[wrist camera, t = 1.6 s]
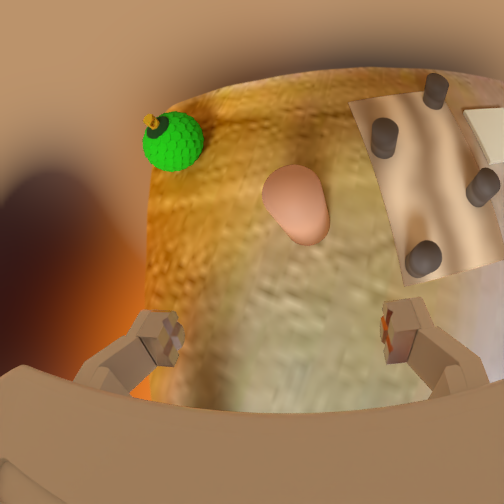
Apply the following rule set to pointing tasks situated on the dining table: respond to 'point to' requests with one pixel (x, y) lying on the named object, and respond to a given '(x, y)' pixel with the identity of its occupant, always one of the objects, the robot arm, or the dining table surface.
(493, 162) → the mat
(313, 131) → the dining table surface
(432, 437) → the robot arm
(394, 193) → the post board
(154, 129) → the ornament
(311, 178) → the tan cylinder block
